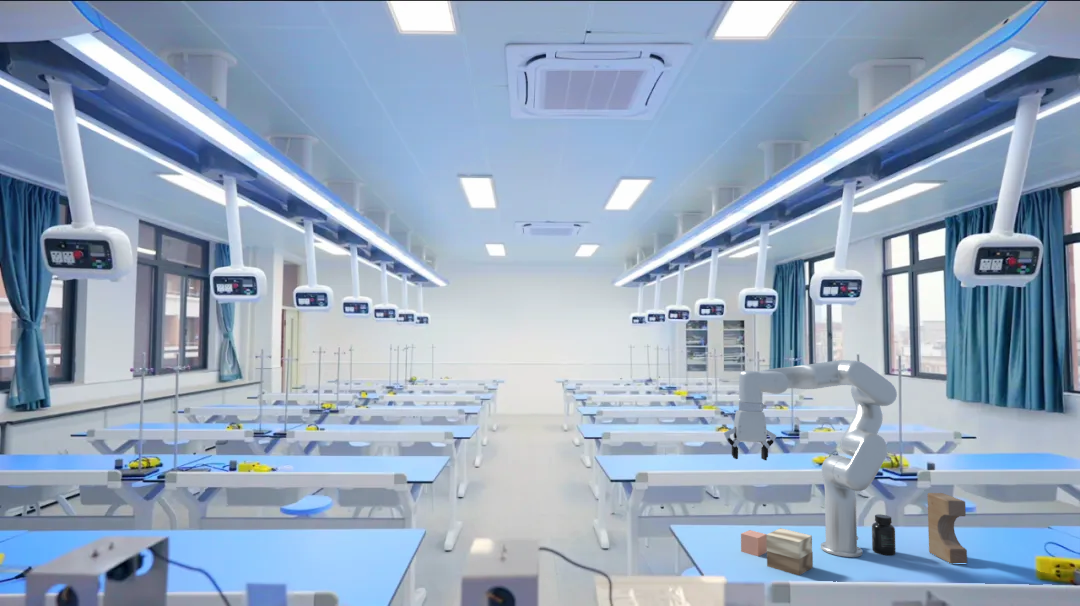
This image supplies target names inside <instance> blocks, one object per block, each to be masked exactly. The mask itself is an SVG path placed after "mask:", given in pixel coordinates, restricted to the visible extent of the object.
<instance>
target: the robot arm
mask: <svg viewBox="0 0 1080 606" xmlns="http://www.w3.org/2000/svg"><path fill="white" fill-rule="evenodd" d="M738 378H739V379H738V383H739V384H738V410H735V415H734V420H733V428H731V429H729V430H727V431H725V432H723V435H724V437H725V439H726V441H727V442H728V443H729V444H730V446H731V456H732V458H733V459H735V460H738V459H739V447H738V445H739V444H740V442H741V443H742V442H744V443H760V444H761V445H762V446H761V452H760V453H761V454H760V459H762V460H763V461H767V460H768V458H769V449H770V447H771V446H772V445H773V444H774V442H775V440H776V438H777V435H776V434H775V433H773V432H771V431H770V430H768V429H767V421H766V416H765V412H763V411H764V410H765V409H767V405H766V404H764V402H763V393H768V394H772V395H773V394H774V395H779V394H782V393H785V392H786V391H787V390H788V389H798V390H818V389H823V388H824V389H825V388H829V387H838V386H851V388H850V392H851V393H850V394H851V396H852V399H853V402H854V404H855V413H854V416H853V418H852V420H851V422H850V424H849V425H848V427H847V429H846V431H845V432H844V434H843V436H842V437H841V440H840V448H841V450H842V452H843V453H844V454H846V455H847V456H849V457H851V458H848V457H847V456H841V455H830V456H828V457H826V458H825V459H824V460H823V462H822V465H821V474H822V475H821V476H822V479H823V485H824V505H825V506H824V514H825V515H824V516H825V517H824V518H825V525H824V526H825V541H824V542H821V544H820V549H821V550H822V551H824V552H825V553H828V554H830V555H833V556H834V555H835V556H837V557H838V556H839V557H845V558H855V557H856V558H857V557H861V556H862V555H863V549H862V548H861V547H858V540H859V537H858V533H857V529H858V528H857V527H858V526H857V497H856V492H863V491H864V490H866V489H868V488H869V487H870V486H871V484H872V483H873V481H874V480H875V478H876V475H877V474H878V472H879V471H880V468H881V467H882V465H883V464H884V462H885V460H886V458H887V455H888V445H887V442H886V441H885V439H884V438H883V437H882V436H881V435H879V434H878V433H879V431H880V429H881V426H882V425H883V412H882V408H881V407H887V406H890V405H892V404H893V403H894V402H895V401H896V400H897V395H898V394H897V393H898V392H897V390H896V387H895V386H894V384H893V383H892V382H891V381H890V380H888V379H886V378H885V376H882V375H881V374H879V372H878V371H876V370H874V369H873V368H872V367H870V366H868V365H867V364H866V363H863V362H862V361H859V360H847V359H846V360H845V359H841V360H840V359H839V360H831V361H826V362H817V363H810V364H802V365H801V364H800V365H795V366H794V365H793V366H787V367H776V368H770V369H762V370H759V371H756V370H742V371H740V373H739V377H738ZM731 435H732V438H733V439H732V438H731ZM767 436H769V439H768V440H767Z"/></svg>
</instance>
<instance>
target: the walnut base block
mask: <svg viewBox="0 0 1080 606" xmlns="http://www.w3.org/2000/svg"><path fill="white" fill-rule="evenodd" d="M813 558H814V557H813V551H812V552H811V553H809V554H807V555H806V556H804V557H802V558H800V559H795V558H791V557H788V556H784V555H780V554H776V553H773V552H769V551H767V553H766V567H767V568H772V569H775V570H779V571H782V572H786V573H789V574H792V575H796V576H801V575H803V574H804V573H806V572H808V571H810V570H811V569H813V567H814V566H813V565H814V564H813V563H814V561H813Z"/></svg>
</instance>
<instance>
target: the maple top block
mask: <svg viewBox="0 0 1080 606" xmlns="http://www.w3.org/2000/svg"><path fill="white" fill-rule="evenodd" d="M766 534H767V535H766V536H767V551H769V552H773V553H776V554H780V555H784V556H788V557H791V558H795V559H800V558H802V557H804V556H806V555H807V554H809V553H811V552H813V536H812V534H811V535H810V534H806V533H803V532H799V531H794V530H790V529H786V528H781V527H780V528H778V529H775V530H774V531H773V530H772V531H771V532H769V533H766Z"/></svg>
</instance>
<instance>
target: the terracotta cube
mask: <svg viewBox="0 0 1080 606" xmlns="http://www.w3.org/2000/svg"><path fill="white" fill-rule="evenodd" d="M767 534H768V533H763V532H759V531H755V530H751V529H750V530H747V531H744V532H741V533H740V552H741V553H744V554H748V555H752V556H755V557H760V556H762V555H764V554H767V536H766V535H767Z"/></svg>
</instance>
